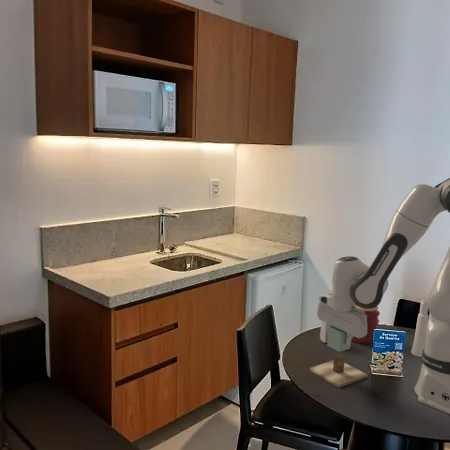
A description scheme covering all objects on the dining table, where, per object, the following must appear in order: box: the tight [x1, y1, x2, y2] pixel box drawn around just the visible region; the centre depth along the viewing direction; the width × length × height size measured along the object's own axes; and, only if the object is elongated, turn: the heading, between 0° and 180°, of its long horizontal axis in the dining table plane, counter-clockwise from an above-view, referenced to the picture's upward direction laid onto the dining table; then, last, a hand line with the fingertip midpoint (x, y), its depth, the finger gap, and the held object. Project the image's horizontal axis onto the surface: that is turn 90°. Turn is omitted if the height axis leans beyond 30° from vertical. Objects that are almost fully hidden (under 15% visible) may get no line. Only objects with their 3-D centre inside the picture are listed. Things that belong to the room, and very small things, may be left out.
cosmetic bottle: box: [410, 299, 429, 358], centre depth 188 cm, size 6×6×22 cm
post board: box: [309, 353, 368, 389], centre depth 171 cm, size 14×14×7 cm
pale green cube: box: [326, 327, 352, 353], centre depth 169 cm, size 6×6×7 cm
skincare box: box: [319, 320, 334, 343], centre depth 198 cm, size 6×4×12 cm
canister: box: [351, 305, 381, 345], centre depth 202 cm, size 13×13×18 cm
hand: (339, 340), depth 170 cm, fingers closed on pale green cube, 6 cm apart
